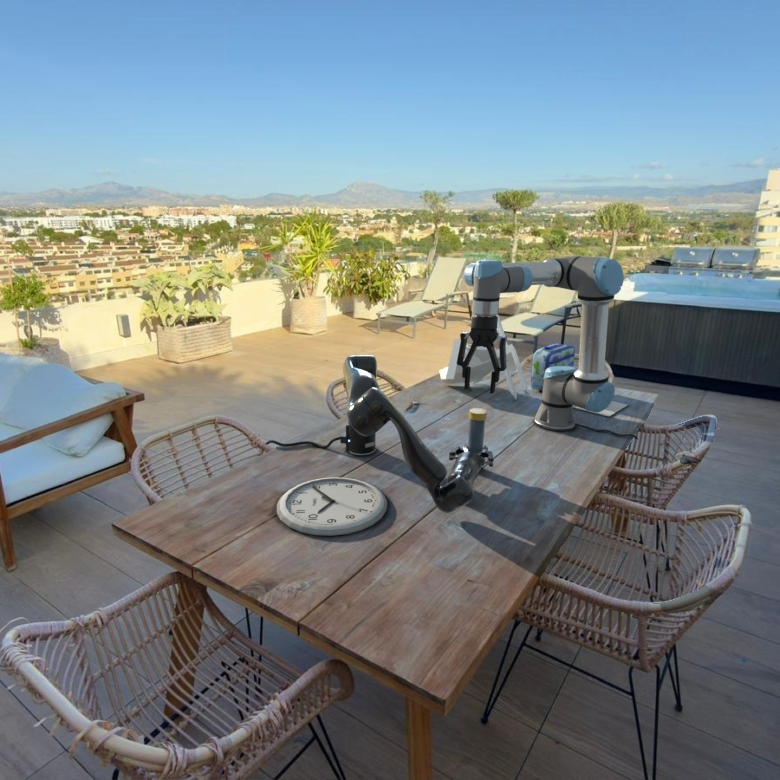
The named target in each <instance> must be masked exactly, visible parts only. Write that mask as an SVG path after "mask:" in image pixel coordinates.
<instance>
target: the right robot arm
mask: <svg viewBox="0 0 780 780" xmlns="http://www.w3.org/2000/svg"><path fill="white" fill-rule="evenodd" d="M624 278H625V277H624V270H623V267H622V265H621V264H620V263H619V261H618V260H616V259H615V258H609V257H601V256H581V255H573V256H565V257H563V256H562V257H557V258H547V259H545V260H544V261H534V262H533V261H527V262H525V261H523V262H502V260H498V259H478V260H477V261H476V262H472V263H470V264H468V265H467V266H466V268H465V269H464V271H463V279H464V282H465V284H466V285H468V286H469V287H471V288H473V289H472V306H471V307H472V308H471V315H472V316H471V322H470V330H469V331H468V332H466V331H463V332H461V333H460V334H459V338H460V339H461V343H460V348H459V353H458V358H457V365H460V366H462V377H463V378H465V383H464V388H463V389H464V390H468V389H469V388H470V385H471V384H470V383H471V382H470V371H471V367H468V365H469V363H470V361H471V359H472V357H473V355H474V352H475V350H476V348H477V347H480V346H483V347H487V350H488V352H489V355H490V358H491V361H492V365H493V368H494V370H493V371H492V372H491V375H490V388H489V390H490V391H489V394H494V393H495V392H496V384H497V383H498V382H499V381H500V376H501V375H500V374H501V372H504V370H505V369H506V368H507V365H508V363H507V364H506V345H505V344H506V341H507V342H508V336H506V335H505V336H504V337H503V336H500V335H499V332H498V328H497V323H498V317H497V316H496V315H497V314H498V315H499V309H500V296H501V294H508V293H509V294H510V293H511V294H512V293H521V292H527V291H528V290H529V289H530V288H531V286H540V285H542V286H545V287H548V288H560V289H564V290H568V291H569V290H570V291H574V292H577V300H578V302H580V304H581V315H580V331H579V332H580V333H579V354H578V368H577V367H575V366H573V367H570V366H555V367H549V368H547V369H546V370H545V375H544V378H543V379H544V380H543V390H541V391H542V392H541V402H540V405H539V407H538V410H537V411H536V413H535V417H534V424H535V425H536V426H537V427H539V428H542V429H544V430H549V431H556V432H567V431H572V430H574V429H575V428H576V426H577V427H579V428H580V427H581V428H583V429H587V430H590V431H594V432H601V433H610V434H613V435H615V436H618V437H632V438H634V439H635V440H639V438H638V436H636V435H635V434H631V433H624V434H621V433H618V432H615V431H613V430H610V429H598V428H593V427H591V426H586V425H583V424H579V423H576V418H575V417H576V416H575V413H574V407H576V406H577V407H580V408H583V409H586V410H587V411H586V412H588V411H593V412H601V411H603V410H604V409H606V408H607V407H608V406H609V404H610V403H611V401H613V399H614V396H615V392H616V389H615V388H616V387H615V386H614V384H613V383H612V382H611V381H609V373H608V371H606V370H605V365H606V364H605V363H606V352H607V349H606V348H607V336H608V322H609V309H610V308H609V307H610V303H611V302H613V300H614V299H615V296H616V295H618V293H620V291H621V290H622V287H623V284H624V280H625V279H624ZM469 338H470V339H471V341H472V342H471V345H470V347H471V348H470V350H469V352H468V354H467V356H466V358H465V361H463V359H464V354H465V349H466V344H467V345H468V340H469ZM496 340H497V343H498V344H499V346H498V349H499V351H500V365H499V362H498V358H497V355H496V352H495V350H496V348H495V343H494V342H496ZM573 406H574V407H573Z"/></svg>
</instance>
